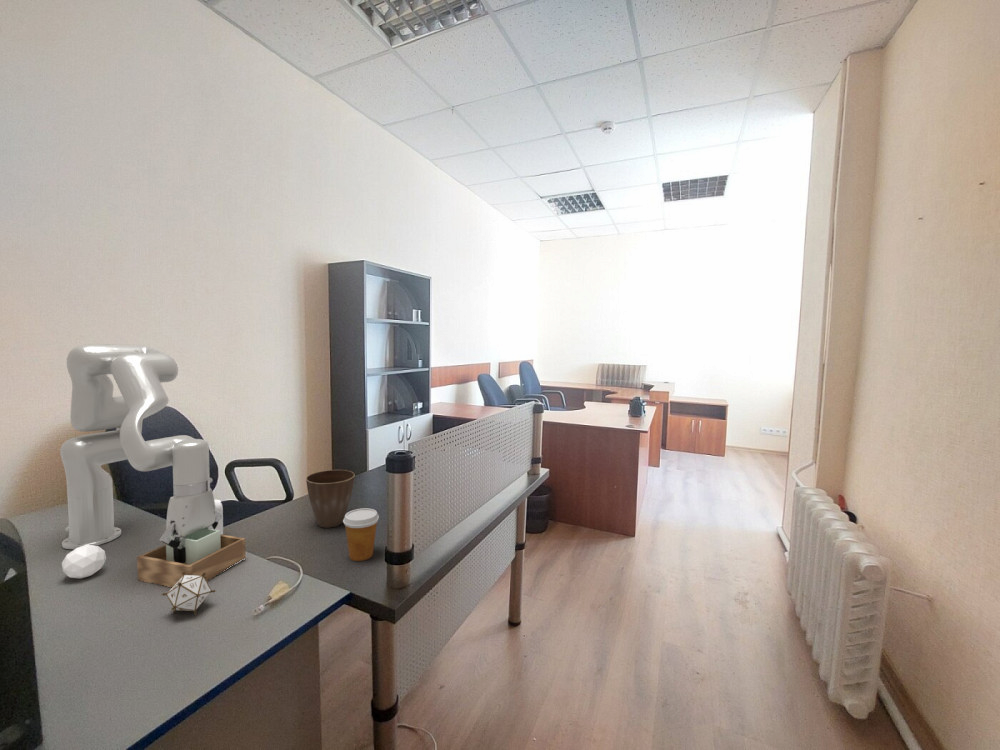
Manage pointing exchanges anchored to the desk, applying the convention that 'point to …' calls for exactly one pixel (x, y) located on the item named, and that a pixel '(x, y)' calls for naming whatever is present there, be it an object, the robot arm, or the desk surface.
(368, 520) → the disposable coffee cup
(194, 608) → the game die
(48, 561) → the desk surface
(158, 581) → the big crate
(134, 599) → the desk surface
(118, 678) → the desk surface
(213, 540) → the box
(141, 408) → the robot arm
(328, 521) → the plant pot
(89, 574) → the geometric ball
